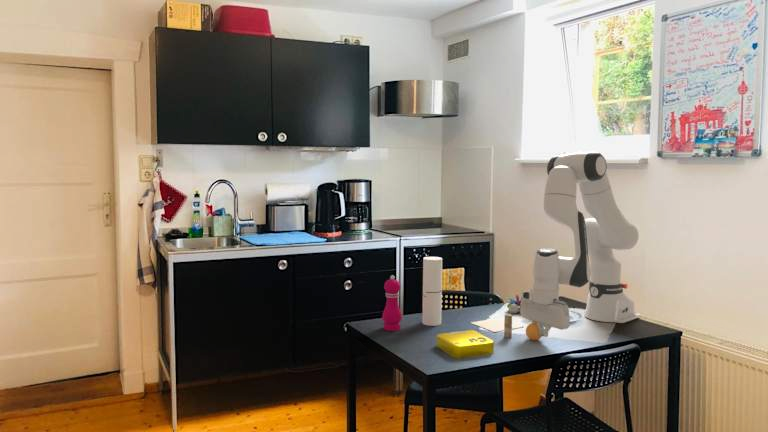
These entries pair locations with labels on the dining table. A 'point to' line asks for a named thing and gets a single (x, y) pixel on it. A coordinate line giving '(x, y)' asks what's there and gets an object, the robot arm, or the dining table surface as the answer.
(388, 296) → the pepper mill
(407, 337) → the dining table surface
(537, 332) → the ball
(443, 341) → the element tile
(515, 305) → the multicoloured rounded cluster
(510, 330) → the left post
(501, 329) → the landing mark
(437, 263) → the cylindrical container
